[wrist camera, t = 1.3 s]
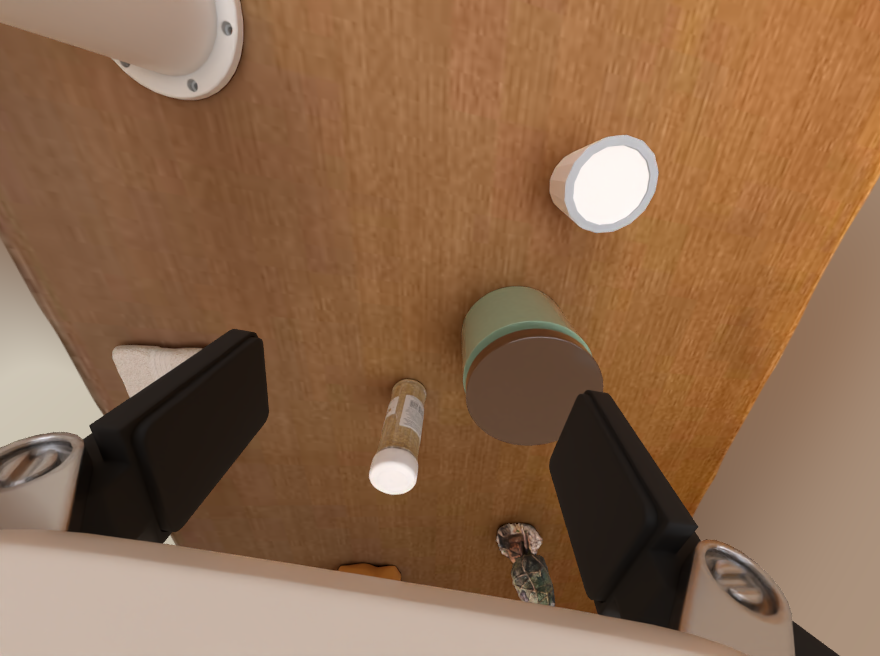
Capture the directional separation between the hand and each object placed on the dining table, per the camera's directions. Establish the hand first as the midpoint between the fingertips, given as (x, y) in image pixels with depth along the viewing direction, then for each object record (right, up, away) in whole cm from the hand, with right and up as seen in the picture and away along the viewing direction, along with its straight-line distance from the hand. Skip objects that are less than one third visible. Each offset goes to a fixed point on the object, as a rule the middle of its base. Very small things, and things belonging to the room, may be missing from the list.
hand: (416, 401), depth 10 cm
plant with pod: (+14, -33, +45) cm, 57 cm away
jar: (+9, +1, +29) cm, 30 cm away
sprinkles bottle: (-3, -6, +33) cm, 34 cm away
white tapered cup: (+14, +16, +21) cm, 30 cm away
